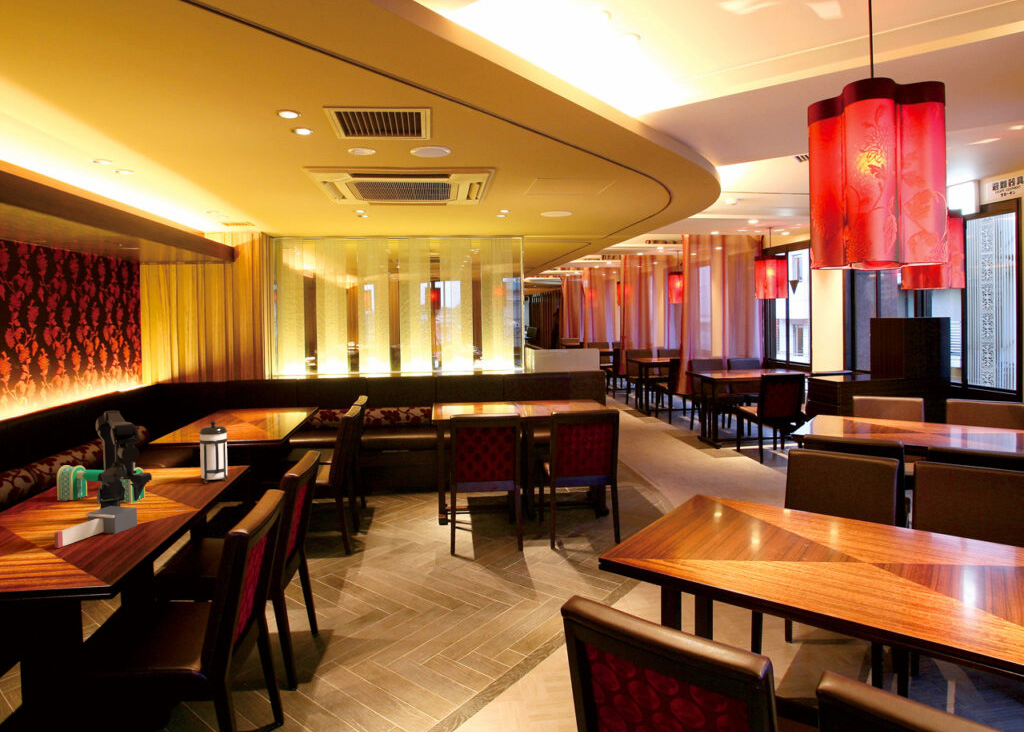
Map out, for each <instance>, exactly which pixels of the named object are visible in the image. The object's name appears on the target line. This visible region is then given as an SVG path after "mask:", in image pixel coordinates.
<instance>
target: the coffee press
mask: <svg viewBox="0 0 1024 732" xmlns="http://www.w3.org/2000/svg"><path fill="white" fill-rule="evenodd" d="M227 434H228V430H227V428H226V427H225V426H223V425H216V421H215V420H212V421H210V425H206V426H203V427H202V428H200V429H199V431H198V435H199V449H200V452H199V454H200V456H199V457H200V479H201V478H203V479H204V480H202V483H203V484H206V483H205V482H207V483H208V482H209V481H211V480H214V481H215V480H223V481H224V480H225V479H226V480H228V481H229V478H228V477H227V476H228V448H227V447H228V445H227V444H228V443H227V442H228V437H227Z"/></svg>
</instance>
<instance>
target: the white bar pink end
mask: <svg viewBox="0 0 1024 732" xmlns="http://www.w3.org/2000/svg"><path fill="white" fill-rule="evenodd" d="M101 533H104V517H100V518H97V519H94V520H91V521H88V520H87V521H86V522H83V523H79V524H75V525H73V526H70V527H68V528H64V529H61V530H58V531H54V548H57V549H59V548H62V547H65V546H67V545H70V544H73V543H75V542H79V541H82V540H84V539H87V538H90V537H92V536H95V535H98V534H101Z"/></svg>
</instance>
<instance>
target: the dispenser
mask: <svg viewBox="0 0 1024 732" xmlns="http://www.w3.org/2000/svg"><path fill="white" fill-rule="evenodd" d="M137 511H138V510H137V507H131V506H120V507H119V506H108V507H105V508H102V509H96V510H93V511H90V512H87V513H85V515H84V516H86V517H87V522H88V521H91V520H94V519H97V518H100V517H104V532H103V533H104V534H111V533H113V535H116V534H118V533H119V534H120V533H121V531H122V532H124V531H127V530H129V529H132V527H133V528H135V527H137V526H138V512H137ZM134 526H135V527H134Z"/></svg>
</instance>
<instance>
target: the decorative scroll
mask: <svg viewBox="0 0 1024 732" xmlns="http://www.w3.org/2000/svg"><path fill="white" fill-rule="evenodd" d="M134 470H136V473H135V474H138V473H141V472H145V471H144V470H143V468H141V467H138V466H137V467H135V468H134ZM102 472H104V469H86V468H85V467H84V466H83V465H75V466H71V465H67V464H66V465H62V466H61V467H60V468H59V469H58V471H57V473H56V492H57V493H56V495H57V501H58V500H59V501H67V500H74V501H76V500H75V499H77V500H79V499H78V498H80V499H82V498H81V497H84V496H87V497H88V482H99V481H98V475H99V474H100V473H102ZM120 481H121V482H122V485H123V486H124V488H125V495H124V500H123V501H120V502H130V503H132V502H134V501H135V500H134V491H133V487H132V485H131V484H132V482H131V480H128V479H120ZM145 489H146V485H145V486H144V488H143V490H142V492H141V494H140V496H139V498H138V500H140V499H142V498H145V499H146V490H145ZM84 498H85V497H84ZM60 499H62V500H60ZM140 501H141V500H140ZM130 503H129V504H130ZM134 503H135V502H134ZM132 504H133V503H132Z"/></svg>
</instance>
